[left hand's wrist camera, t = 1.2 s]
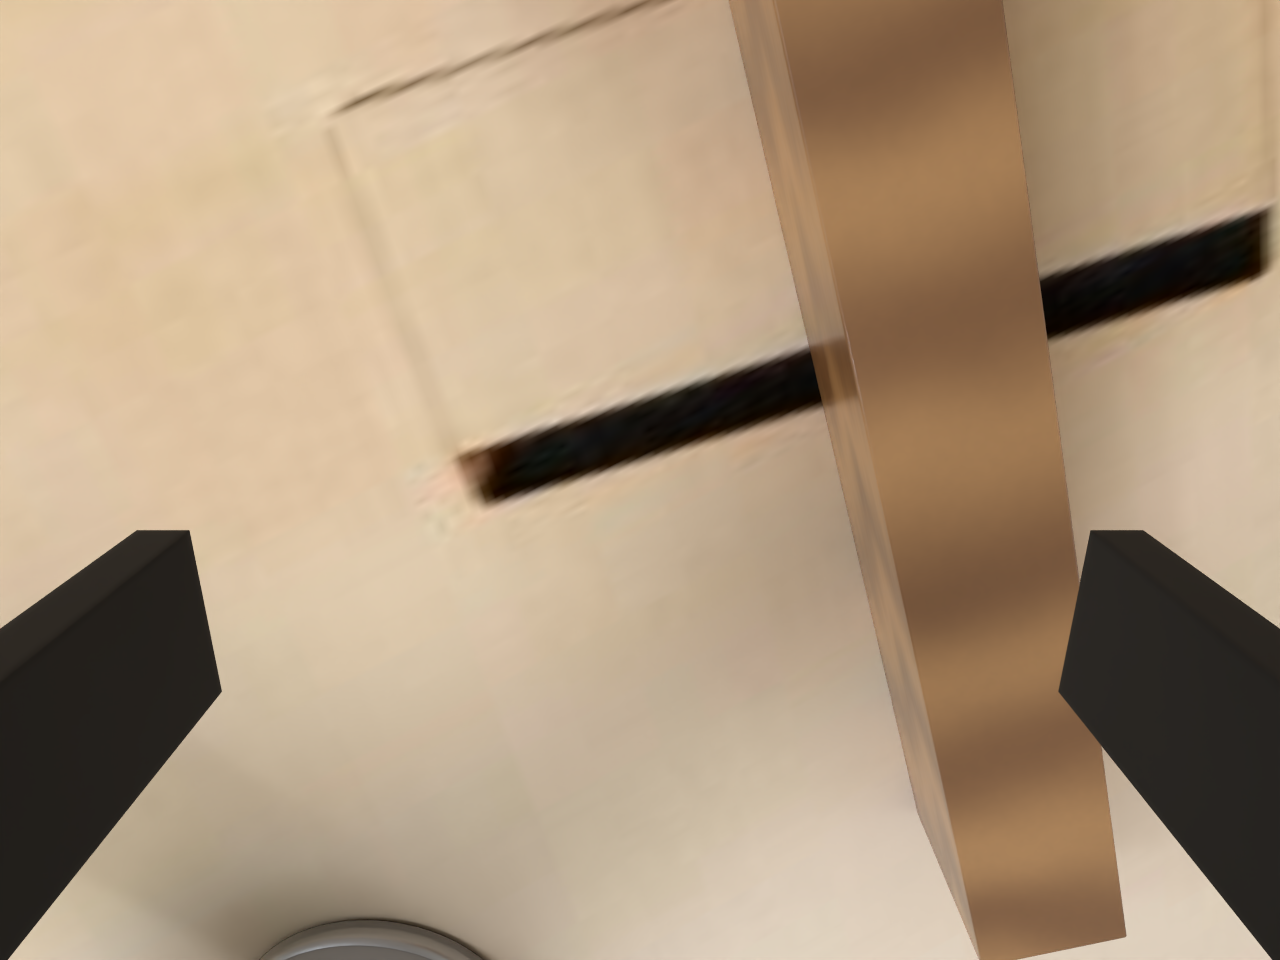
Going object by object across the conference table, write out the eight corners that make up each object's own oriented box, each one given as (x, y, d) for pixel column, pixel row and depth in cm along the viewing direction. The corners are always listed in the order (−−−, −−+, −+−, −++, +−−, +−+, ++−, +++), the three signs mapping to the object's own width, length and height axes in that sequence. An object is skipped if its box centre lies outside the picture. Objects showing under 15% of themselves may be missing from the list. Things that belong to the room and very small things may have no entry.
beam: (1034, 787, 40) (1127, 937, 33) (917, 814, 41) (982, 967, 33) (789, -651, 23) (863, -1062, 15) (596, -569, 24) (572, -925, 16)
